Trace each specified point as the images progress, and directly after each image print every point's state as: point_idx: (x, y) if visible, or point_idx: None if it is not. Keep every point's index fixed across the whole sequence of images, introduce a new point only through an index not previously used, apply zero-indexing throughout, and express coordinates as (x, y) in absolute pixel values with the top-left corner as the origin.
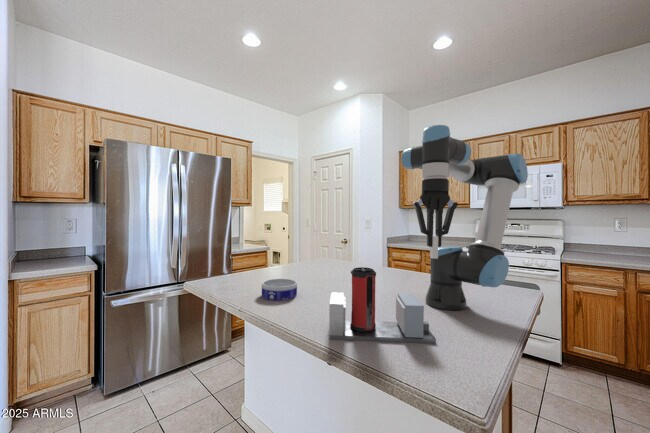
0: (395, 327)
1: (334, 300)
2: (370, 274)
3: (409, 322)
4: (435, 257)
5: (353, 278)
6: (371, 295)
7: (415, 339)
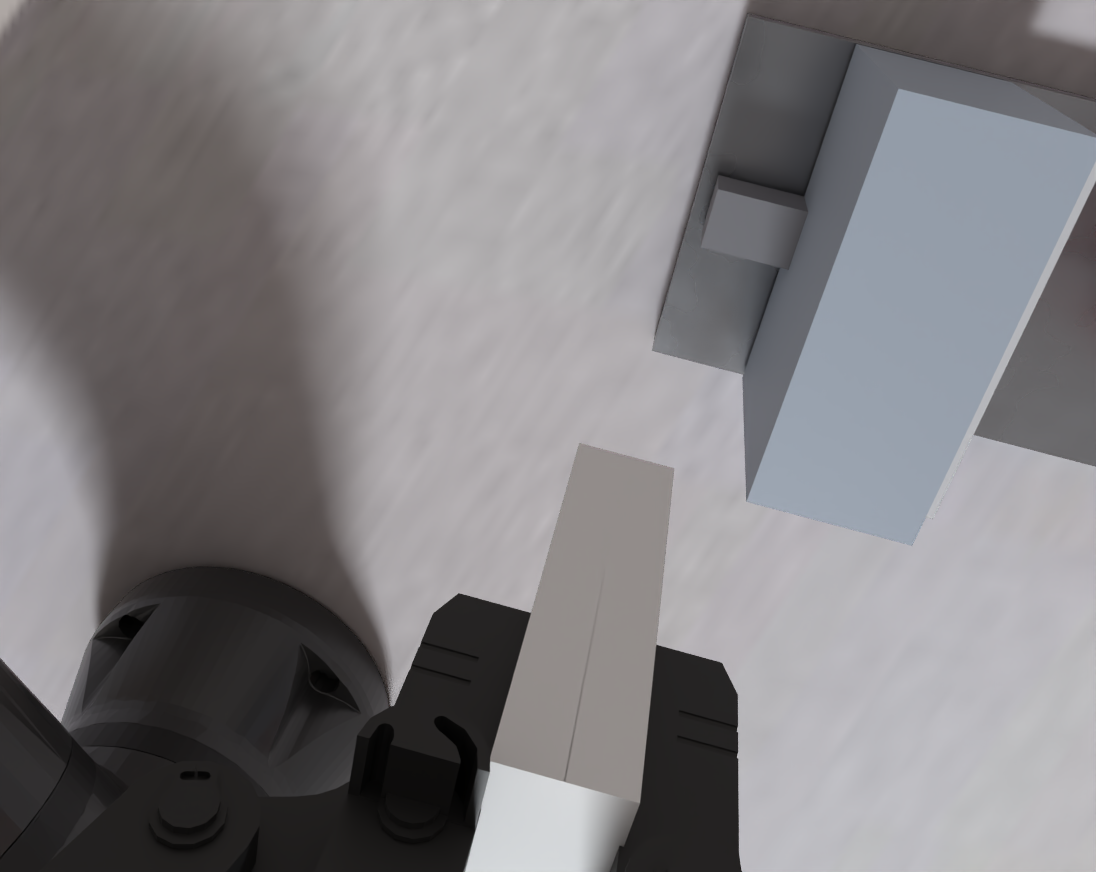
0: None
1: None
2: None
3: (1009, 94)
4: (620, 465)
5: None
6: None
7: (919, 58)
